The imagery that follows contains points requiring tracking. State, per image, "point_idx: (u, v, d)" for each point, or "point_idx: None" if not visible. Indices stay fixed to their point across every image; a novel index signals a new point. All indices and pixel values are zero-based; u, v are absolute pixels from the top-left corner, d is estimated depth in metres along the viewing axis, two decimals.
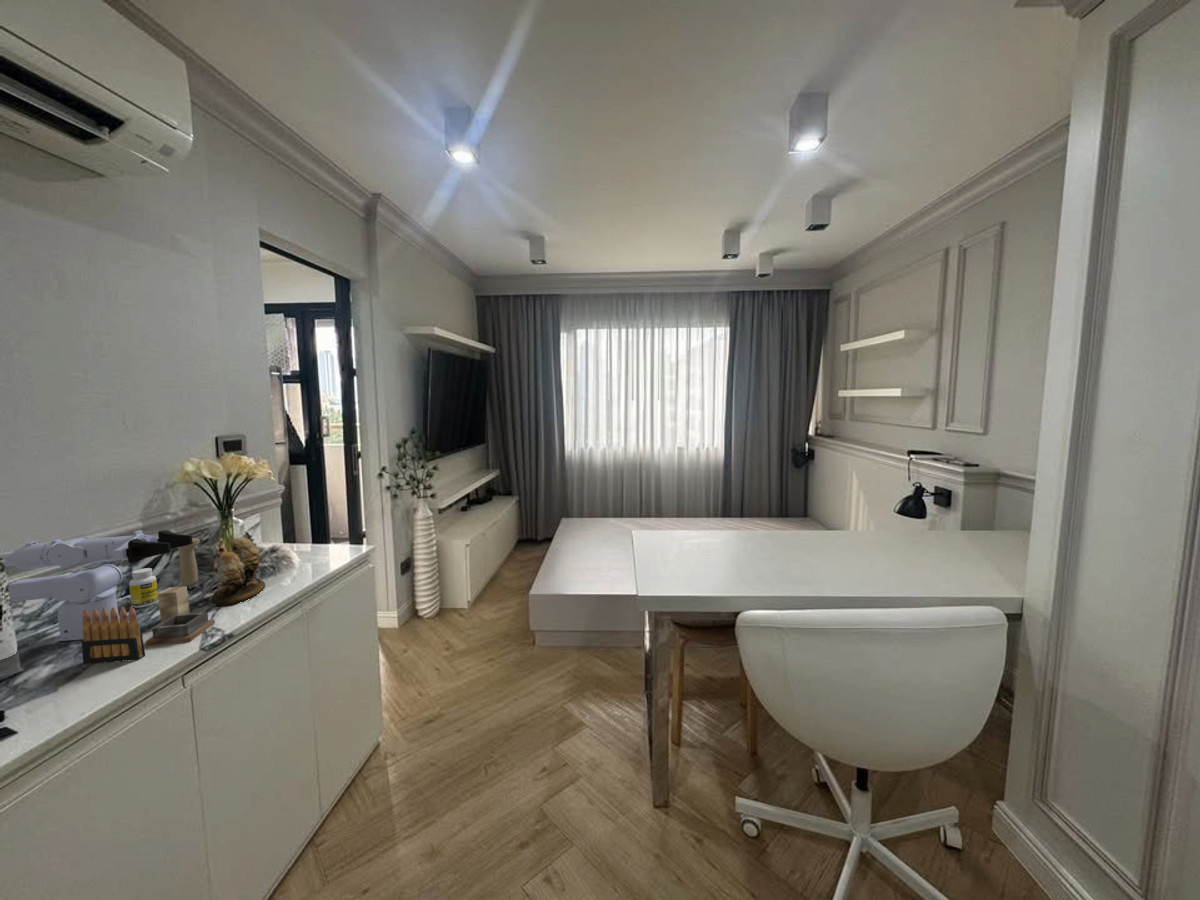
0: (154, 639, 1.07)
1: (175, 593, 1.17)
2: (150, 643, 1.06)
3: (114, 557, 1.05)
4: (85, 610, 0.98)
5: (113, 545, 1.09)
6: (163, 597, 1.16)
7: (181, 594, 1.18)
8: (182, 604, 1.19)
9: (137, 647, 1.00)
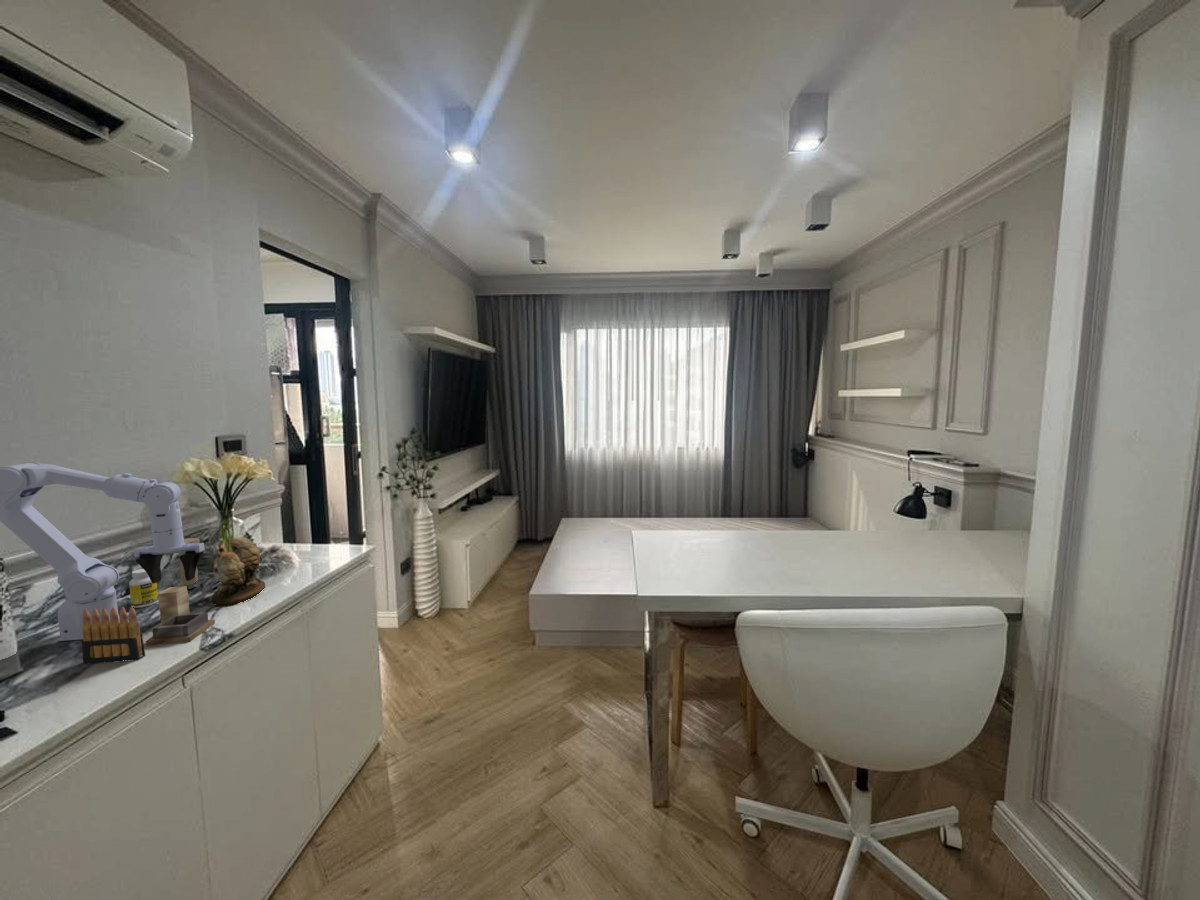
0: (154, 639, 1.07)
1: (175, 593, 1.17)
2: (150, 643, 1.06)
3: (200, 545, 1.18)
4: (85, 610, 0.98)
5: (182, 532, 1.18)
6: (163, 597, 1.16)
7: (181, 594, 1.18)
8: (182, 604, 1.19)
9: (137, 647, 1.00)
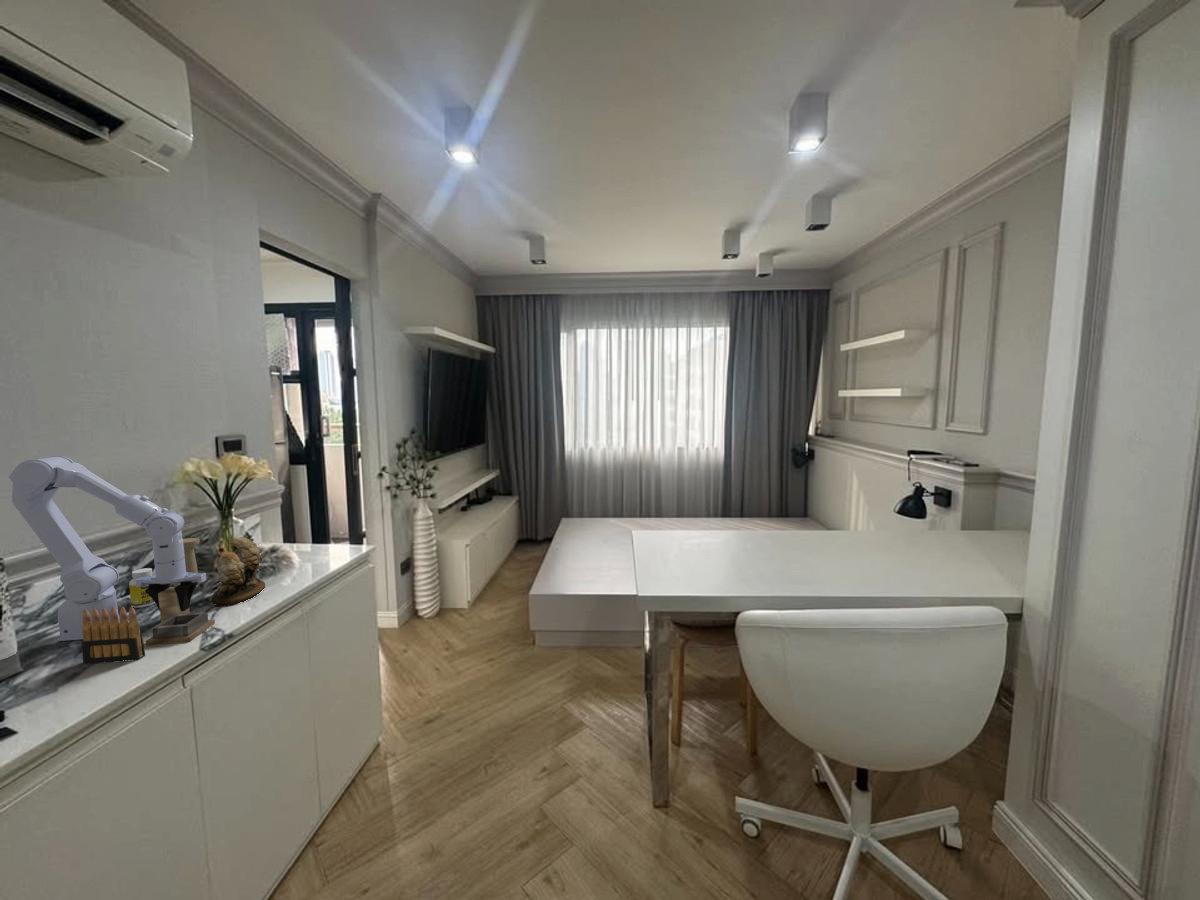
0: (154, 639, 1.07)
1: (175, 593, 1.17)
2: (150, 643, 1.06)
3: (202, 576, 1.19)
4: (85, 610, 0.98)
5: (184, 562, 1.19)
6: (163, 597, 1.16)
7: None
8: None
9: (137, 647, 1.00)
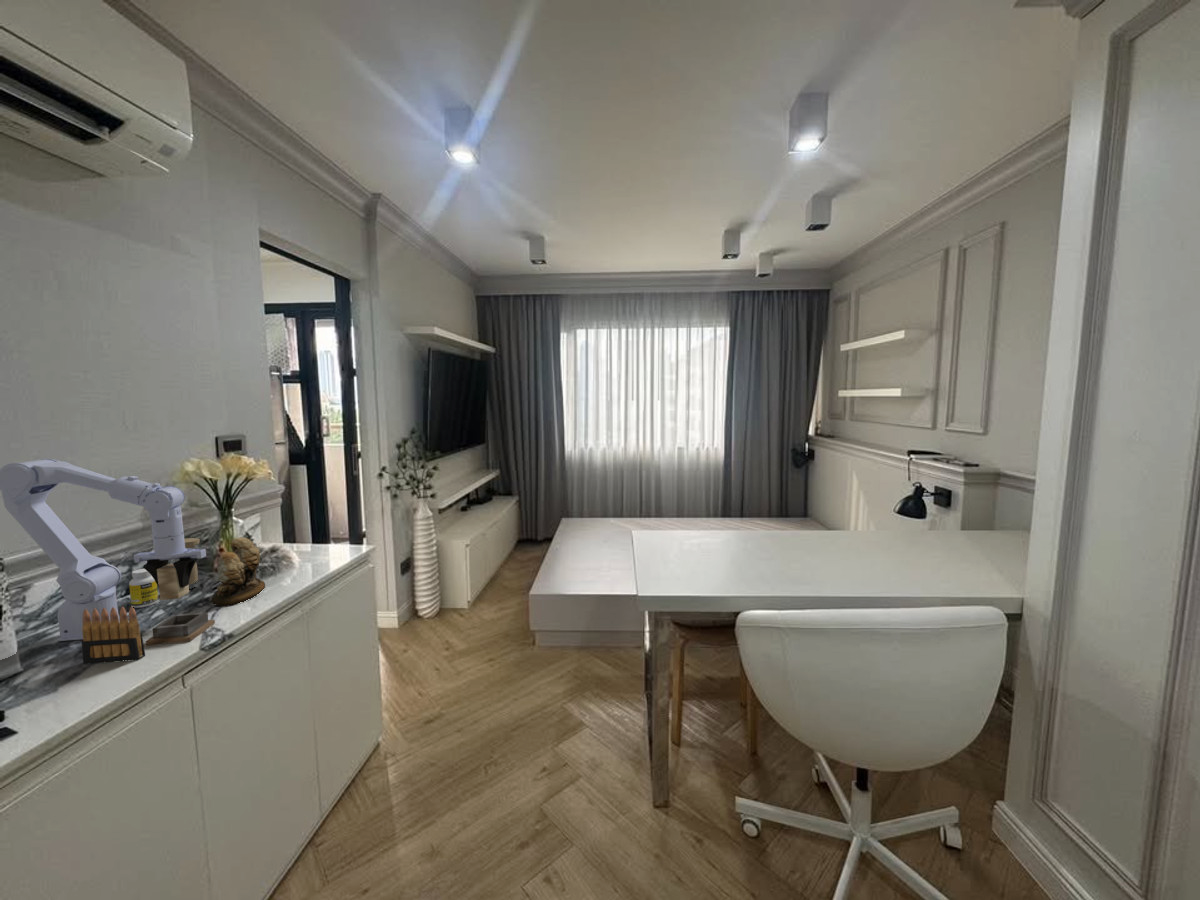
0: (154, 639, 1.07)
1: (174, 568, 1.14)
2: (150, 643, 1.06)
3: (201, 551, 1.16)
4: (85, 610, 0.98)
5: (183, 537, 1.17)
6: (162, 573, 1.14)
7: None
8: None
9: (137, 647, 1.00)
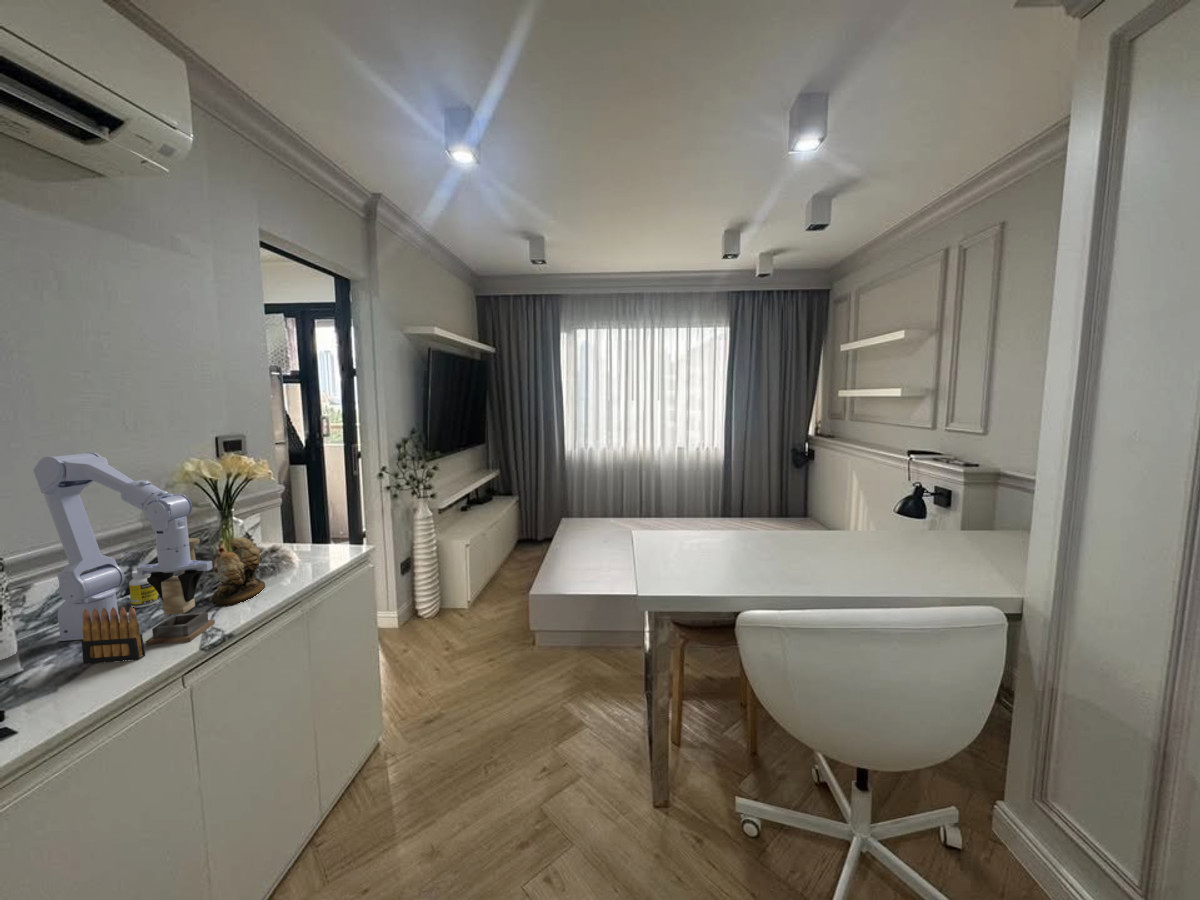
0: (154, 639, 1.07)
1: (179, 582, 1.09)
2: (150, 643, 1.06)
3: (207, 564, 1.10)
4: (85, 610, 0.98)
5: (189, 549, 1.11)
6: (166, 586, 1.08)
7: None
8: None
9: (137, 647, 1.00)
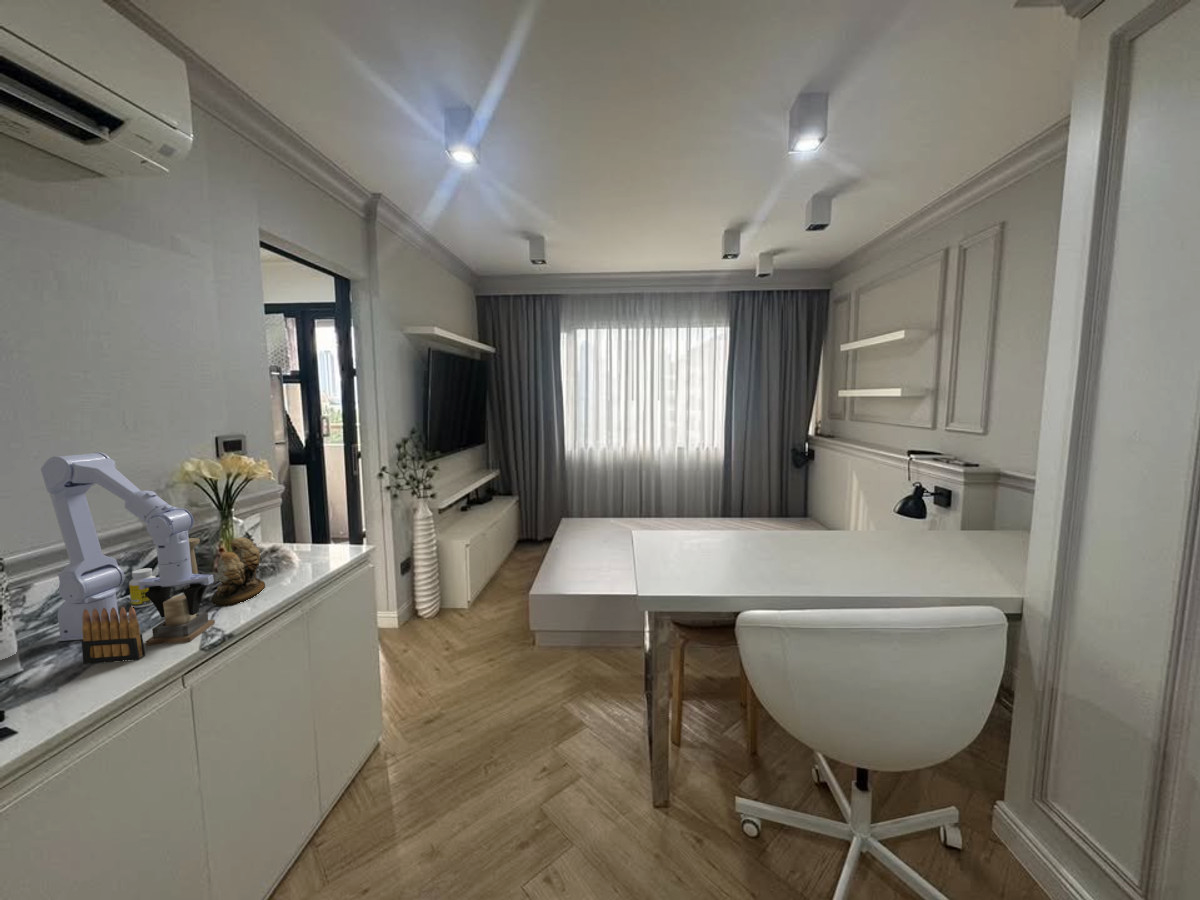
0: (154, 639, 1.07)
1: (181, 601, 1.09)
2: (150, 643, 1.06)
3: (209, 578, 1.11)
4: (85, 610, 0.98)
5: (190, 562, 1.11)
6: (169, 606, 1.09)
7: None
8: (189, 614, 1.11)
9: (137, 647, 1.00)
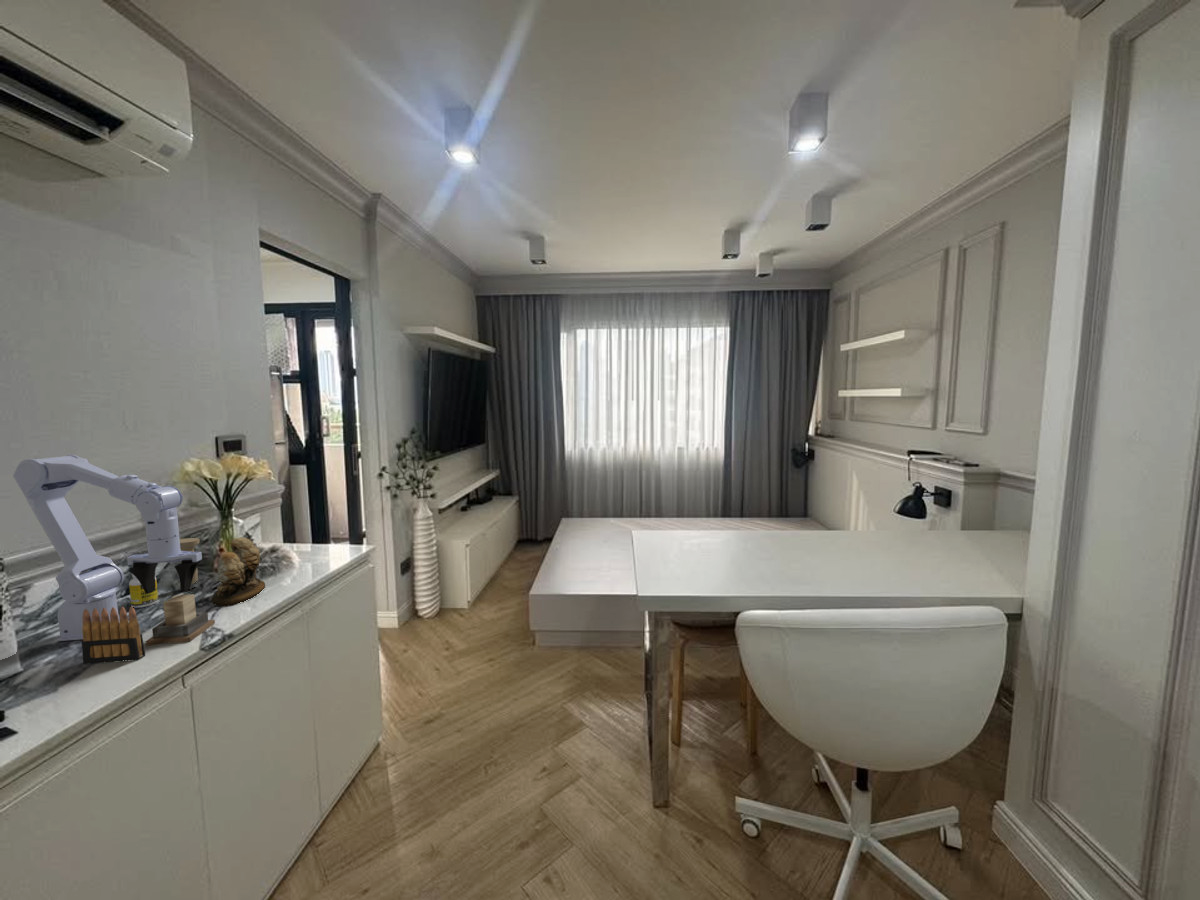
0: (154, 639, 1.07)
1: (181, 602, 1.09)
2: (150, 643, 1.06)
3: (197, 555, 1.12)
4: (85, 610, 0.98)
5: (179, 539, 1.12)
6: (169, 606, 1.09)
7: (188, 603, 1.11)
8: (189, 614, 1.11)
9: (137, 647, 1.00)
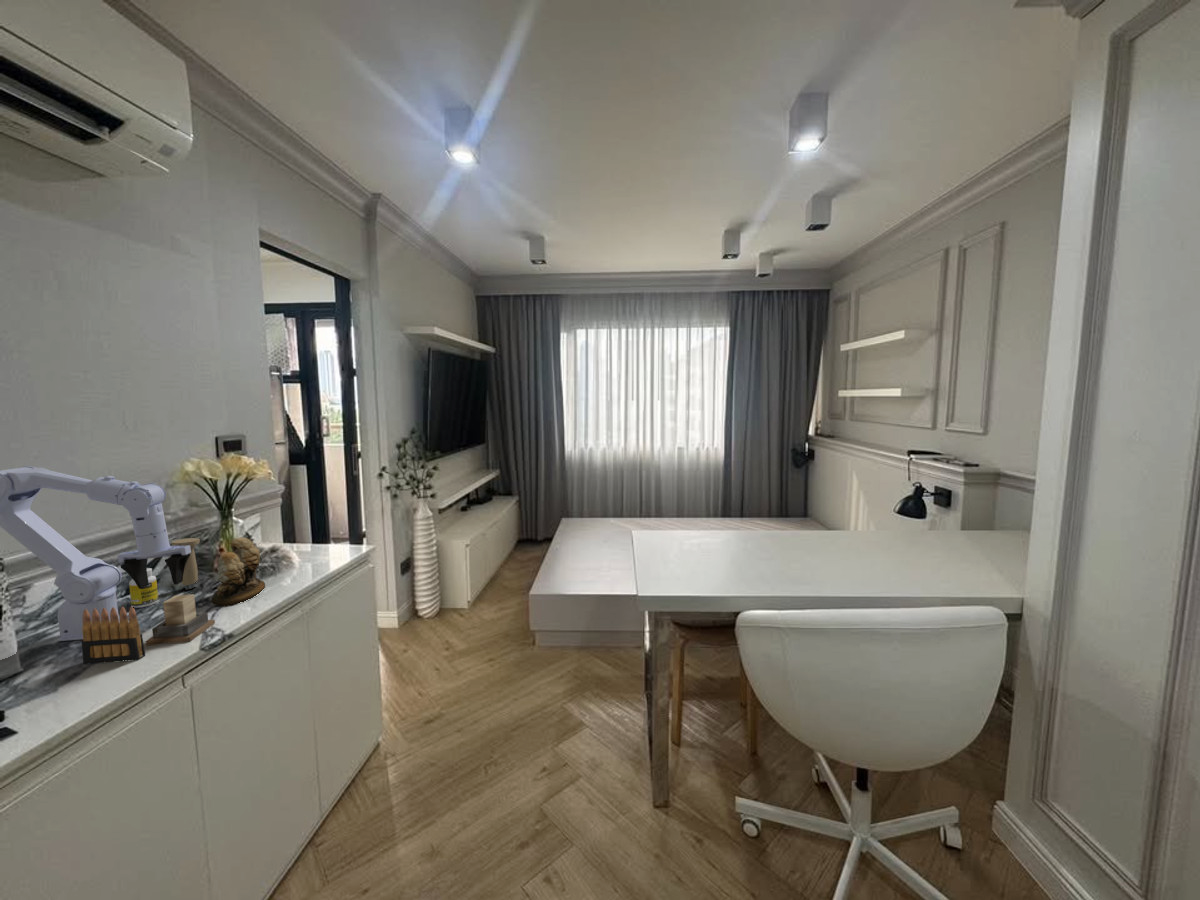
0: (154, 639, 1.07)
1: (181, 602, 1.09)
2: (150, 643, 1.06)
3: (186, 548, 1.15)
4: (85, 610, 0.98)
5: (167, 535, 1.15)
6: (169, 606, 1.09)
7: (188, 603, 1.11)
8: (189, 614, 1.11)
9: (137, 647, 1.00)
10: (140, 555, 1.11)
